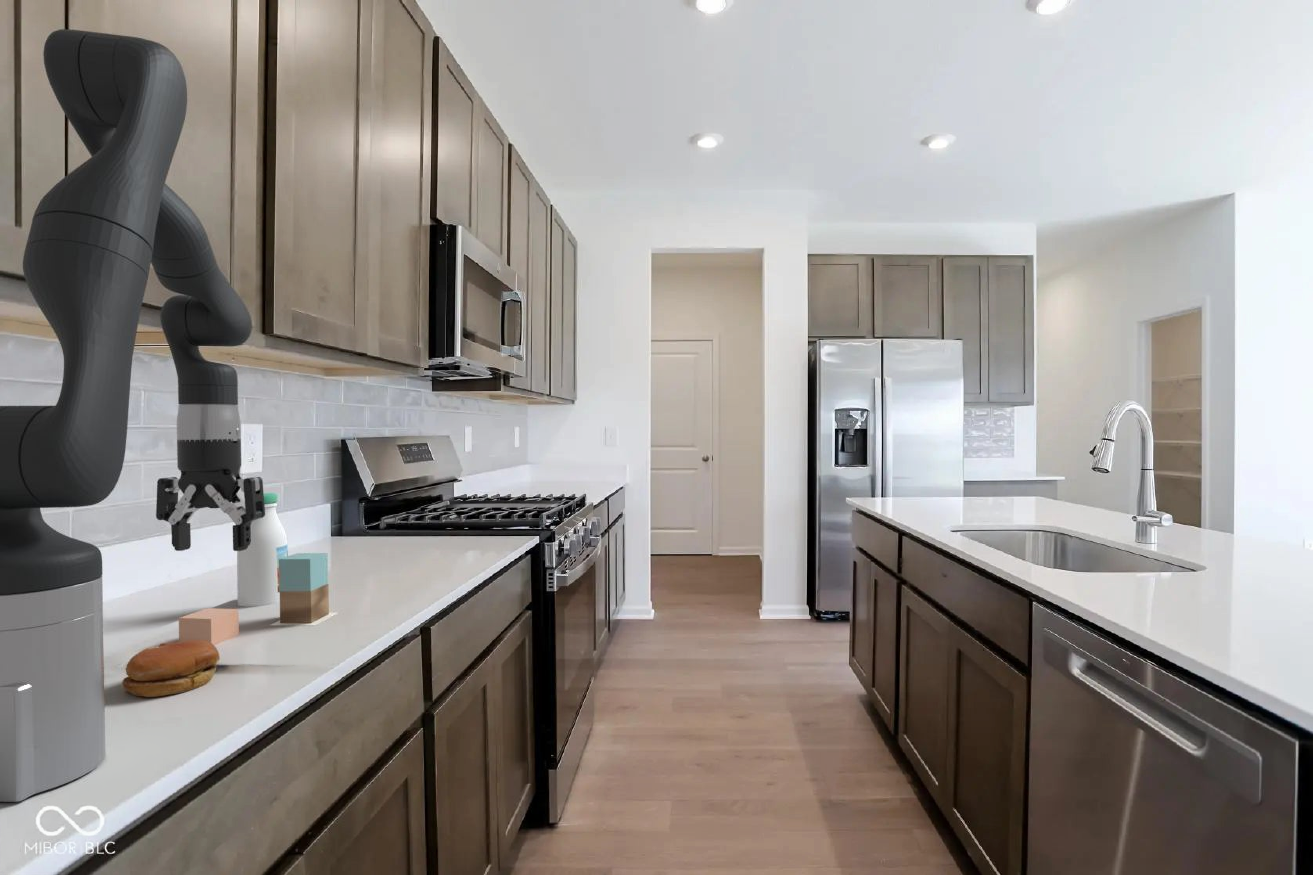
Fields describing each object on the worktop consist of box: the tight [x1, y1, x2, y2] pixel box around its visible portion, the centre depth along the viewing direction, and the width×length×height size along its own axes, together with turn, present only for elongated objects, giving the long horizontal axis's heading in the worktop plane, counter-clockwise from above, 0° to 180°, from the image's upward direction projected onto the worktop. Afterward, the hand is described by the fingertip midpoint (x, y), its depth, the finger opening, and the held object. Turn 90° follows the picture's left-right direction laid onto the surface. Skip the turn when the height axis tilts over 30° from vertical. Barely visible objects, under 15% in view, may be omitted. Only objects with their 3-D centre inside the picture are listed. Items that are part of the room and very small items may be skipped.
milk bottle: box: [236, 492, 289, 608], centre depth 115 cm, size 8×8×20 cm
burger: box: [121, 640, 220, 698], centre depth 80 cm, size 10×9×5 cm
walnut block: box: [279, 583, 330, 623], centre depth 104 cm, size 5×5×5 cm
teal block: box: [279, 552, 329, 591], centre depth 104 cm, size 5×5×5 cm
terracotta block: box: [178, 607, 240, 646], centre depth 93 cm, size 5×5×5 cm
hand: (211, 550), depth 93 cm, fingers open, 8 cm apart
